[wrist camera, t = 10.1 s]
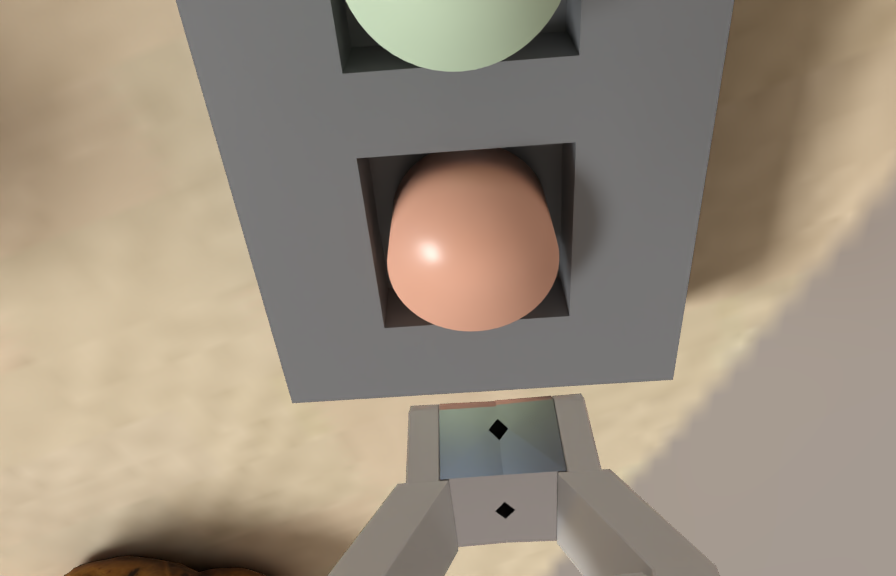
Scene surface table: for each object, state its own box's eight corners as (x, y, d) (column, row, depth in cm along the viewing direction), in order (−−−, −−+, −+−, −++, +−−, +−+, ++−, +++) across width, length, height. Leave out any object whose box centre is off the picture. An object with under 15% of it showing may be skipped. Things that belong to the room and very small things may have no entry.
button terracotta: (383, 148, 18) (376, 194, 16) (547, 136, 18) (561, 181, 16) (401, 281, 21) (397, 336, 19) (545, 272, 21) (557, 326, 19)
